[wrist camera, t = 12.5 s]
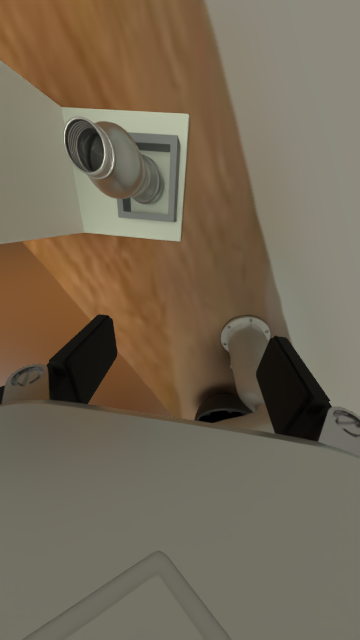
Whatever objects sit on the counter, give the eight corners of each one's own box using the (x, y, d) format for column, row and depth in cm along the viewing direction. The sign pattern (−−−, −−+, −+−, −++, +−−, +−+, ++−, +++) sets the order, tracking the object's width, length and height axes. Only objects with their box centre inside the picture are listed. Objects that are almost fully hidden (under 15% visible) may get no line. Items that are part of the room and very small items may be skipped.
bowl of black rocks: (246, 419, 66) (260, 484, 50) (193, 412, 68) (190, 473, 52) (259, 383, 56) (282, 450, 40) (197, 377, 58) (194, 439, 42)
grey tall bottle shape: (141, 149, 30) (56, 57, 12) (173, 179, 31) (137, 136, 14) (123, 187, 32) (35, 155, 15) (153, 213, 34) (104, 211, 17)
